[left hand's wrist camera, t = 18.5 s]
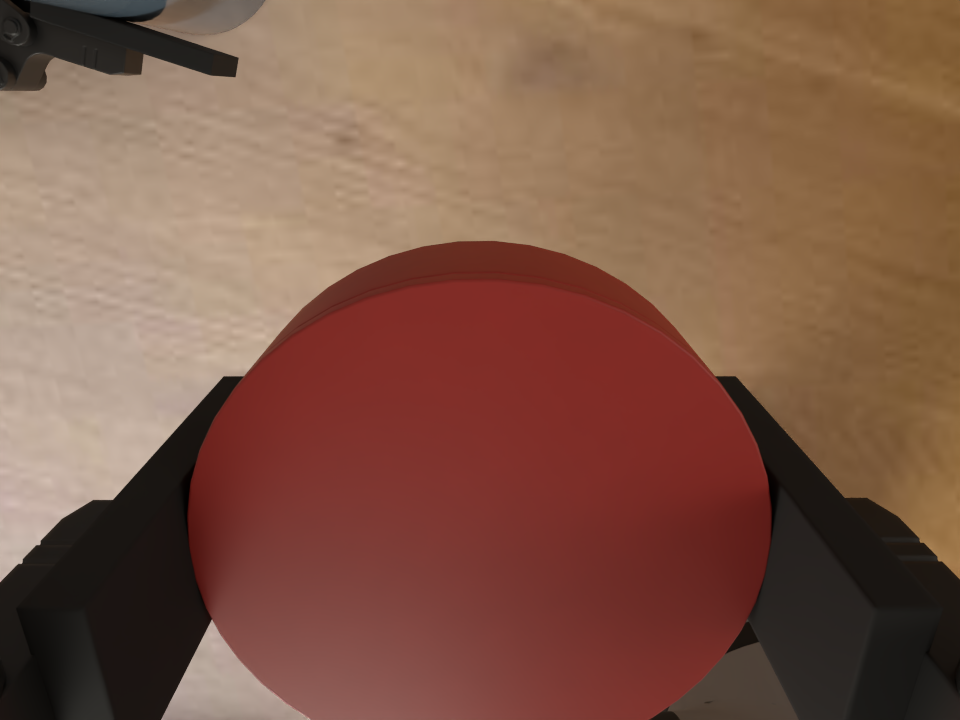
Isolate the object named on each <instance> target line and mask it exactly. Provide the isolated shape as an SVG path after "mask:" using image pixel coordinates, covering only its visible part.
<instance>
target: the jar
mask: <svg viewBox="0 0 960 720" xmlns="http://www.w3.org/2000/svg"><path fill="white" fill-rule="evenodd" d="M27 1H32V2H37V3H41V4H46V5H51V6H56V7H61V8H66V9H70V10H75V11H80V12H85V13H90V14H95V15H99V16H104V17H109V18H114V19H119V20H124V21H128V22H133V23H138V24H143V25H148V26H153V27H157V28H162V29H167V30H172V31H177V32H182V33H187V34H192V35H211V34H218V33H222V32H226V31H228V30H231V29H233V28H235V27H237V26H239V25H241V24H242V23H244V22H245V21H247V20H248V19H249V18H250V17H251V16H253V15H254V14H255V13H256V12H257V10H258V9H259V8H260V7H261V6H262V4H263V3H264V1H265V0H27Z"/></svg>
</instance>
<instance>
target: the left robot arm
mask: <svg viewBox="0 0 960 720" xmlns="http://www.w3.org/2000/svg"><path fill="white" fill-rule="evenodd" d="M243 377H244V376H224V377H223V378H222V379H221V380H220V381H219V382H218V384H217V385H216V386H215V387H214V388H213V389H212V390H211V391H210V392H209V394H208V395H207V396H206V397H205V398H204V399H203V400H202V401H201V402H200V404H199V405H198V406H197V407H196V408H195V409H194V410H193V411H192V413H191V414H190V415H189V416H188V417H187V418H186V419H185V420H184V421H183V423H182V424H181V425H180V426H179V427H178V428H177V429H176V430H175V431H174V433H173V434H172V435H171V436H170V437H169V438H168V439H167V440H166V442H165V443H164V444H163V445H162V446H161V447H160V448H159V449H158V450H157V452H156V453H155V454H154V455H153V456H152V457H151V458H150V459H149V460H148V462H147V463H146V464H145V465H144V466H143V467H142V468H141V469H140V471H139V472H138V473H137V474H136V475H135V476H134V477H133V478H132V479H131V481H130V482H129V483H128V484H127V485H126V486H125V487H124V488H123V489H122V491H121V492H120V493H119V494H118V495H117V496H116V497H115V498H114V499H113V500H93V501H91V502H89V503H88V504H86V505H84V506H83V507H81V508H79V509H78V510H76V511H74V512H73V513H71V514H70V515H68V516H66V517H65V518H63V519H62V520H61V521H60V522H59V523H58V524H57V525H56V526H55V527H54V528H53V529H52V530H51V531H50V532H49V533H48V534H47V535H46V536H45V537H44V538H43V539H42V540H41V544H40V545H36V546H35V547H34V548H33V549H32V550H31V551H30V552H29V553H28V554H27V555H26V557H25V558H24V559H23V563H22V564H18V565H17V566H16V567H15V568H14V569H13V570H12V571H11V572H10V573H9V574H8V575H7V576H6V577H5V578H4V579H3V580H2V581H1V582H0V720H161V719H162V717H163V715H164V713H165V711H166V709H167V707H168V705H169V703H170V701H171V699H172V697H173V695H174V693H175V691H176V689H177V687H178V685H179V683H180V681H181V679H182V677H183V675H184V673H185V671H186V669H187V667H188V665H189V663H190V661H191V659H192V657H193V655H194V653H195V651H196V650H197V648H198V646H199V644H200V642H201V640H202V638H203V636H204V634H205V632H206V630H207V628H208V626H209V624H210V622H211V620H212V618H211V616H210V614H209V612H208V611H207V609H206V607H205V604H204V601H203V598H202V596H201V593H200V590H199V588H198V585H197V582H196V579H195V573H194V568H193V563H192V558H191V553H190V548H189V542H188V524H187V510H188V501H189V492H190V483H191V479H192V475H193V472H194V468H195V465H196V461H197V458H198V454H199V450H200V448H201V446H202V444H203V442H204V439H205V437H206V435H207V433H208V431H209V429H210V426H211V424H212V422H213V420H214V418H215V416H216V415H217V413H218V412H219V410H220V409H221V407H222V406H223V404H224V403H225V401H226V400H227V398H228V397H229V395H230V394H231V393H232V391H233V390H234V388H235V387H236V386H237V384H238V383H239V382H240V381H241V380H242V378H243ZM715 377H716V378H717V379H718V380H719V382H720V383H721V384H722V386H723V387H724V389H725V390H726V391H727V393H728V394H729V396H730V397H731V398H732V400H733V401H734V403H735V404H736V405H737V407H738V408H739V410H740V411H741V412H742V414H743V416H744V418H745V420H746V422H747V424H748V426H749V428H750V430H751V432H752V434H753V436H754V438H755V440H756V442H757V445H758V448H759V451H760V454H761V458H762V461H763V464H764V467H765V470H766V474H767V477H768V485H769V492H770V499H771V506H772V529H771V545H770V551H769V556H768V561H767V566H766V571H765V576H764V580H763V582H762V585H761V588H760V591H759V594H758V597H757V600H756V603H755V605H754V607H753V609H752V611H751V613H750V615H749V617H748V618H747V620H746V622H745V624H744V626H743V628H742V630H741V632H740V633H739V635H738V636H737V637H736V639H735V640H734V642H733V643H732V645H731V646H730V647H729V649H728V650H727V652H726V653H725V655H724V656H723V657H722V658H721V659H720V660H719V662H718V663H717V664H716V665H715V666H714V667H713V668H712V669H711V670H710V671H709V673H708V674H707V675H706V676H705V677H704V678H703V679H702V680H701V681H700V682H699V683H697V684H696V685H695V686H694V687H693V688H692V689H690V690H689V691H688V692H687V693H686V694H685V695H684V696H682V697H681V698H680V699H679V700H678V701H676V702H675V703H673V704H672V705H670V706H669V707H667V708H666V709H664V710H663V711H661V712H660V713H658V714H657V715H656V716H654V717H653V718H651V719H649V720H960V579H959V578H958V577H957V576H956V575H955V574H954V573H953V572H952V571H951V570H950V569H949V568H948V567H947V566H946V565H945V564H944V563H943V562H938V560H937V556H936V555H935V554H934V553H933V552H932V551H931V550H930V549H929V548H928V547H927V546H926V545H925V544H924V543H920V541H919V538H918V537H917V536H916V535H915V534H914V532H913V531H912V530H911V529H910V528H909V527H908V526H907V525H906V524H905V523H904V522H903V521H902V520H901V519H900V518H899V517H898V516H896V515H894V514H893V513H891V512H889V511H888V510H886V509H884V508H883V507H881V506H879V505H878V504H876V503H874V502H873V501H871V500H869V499H868V498H844V497H843V496H842V494H841V493H840V492H839V491H838V490H837V489H836V488H835V487H834V486H833V484H832V483H831V482H830V481H829V480H828V479H827V478H826V477H825V475H824V474H823V473H822V472H821V471H820V470H819V469H818V468H817V467H816V465H815V464H814V463H813V462H812V461H811V460H810V459H809V458H808V457H807V455H806V454H805V453H804V452H803V451H802V450H801V449H800V448H799V446H798V445H797V444H796V443H795V442H794V441H793V440H792V439H791V438H790V436H789V435H788V434H787V433H786V432H785V431H784V430H783V429H782V428H781V426H780V425H779V424H778V423H777V422H776V421H775V420H774V419H773V417H772V416H771V415H770V414H769V413H768V412H767V411H766V410H765V409H764V407H763V406H762V405H761V404H760V403H759V402H758V401H757V400H756V399H755V397H754V396H753V395H752V394H751V393H750V392H749V391H748V390H747V388H746V387H745V386H744V385H743V384H742V383H741V382H740V381H739V380H738V378H737V377H736V376H715Z"/></svg>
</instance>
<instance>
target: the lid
mask: <svg viewBox="0 0 960 720" xmlns="http://www.w3.org/2000/svg"><path fill="white" fill-rule="evenodd" d="M187 524H188V542H189V548H190V553H191V558H192V563H193V568H194V573H195V579H196V582H197V585H198V588H199V590H200V593H201V596H202V598H203V601H204V604H205V607H206V609H207V611H208V612H209V614H210V616H211V618H212V620H213V622H214V623H215V625H216V627H217V629H218V631H219V633H220V634H221V636H222V637H223V639H224V640H225V641H226V643H227V644H228V646H229V647H230V648H231V650H232V651H233V652H234V654H235V655H236V656H237V658H238V659H239V660H240V662H241V663H242V664H243V665H244V666H245V667H246V668H247V669H248V670H249V671H250V672H251V673H252V674H253V675H254V676H255V677H256V678H257V679H258V680H259V681H260V683H262V684H263V685H264V686H265V687H266V688H268V689H269V690H270V691H271V692H272V693H274V694H275V695H276V696H277V697H278V698H280V699H281V700H282V701H283V702H284V703H286V704H287V705H289V706H290V707H292V708H293V709H295V710H296V711H298V712H300V713H301V714H303V715H304V716H306V717H307V718H309V719H310V720H649V719H651V718H653V717H654V716H656V715H657V714H658V713H660V712H661V711H663V710H664V709H666V708H667V707H669V706H670V705H672V704H673V703H675V702H676V701H678V700H679V699H680V698H681V697H682V696H684V695H685V694H686V693H687V692H688V691H689V690H690V689H692V688H693V687H694V686H695V685H696V684H697V683H699V682H700V681H701V680H702V679H703V678H704V677H705V676H706V675H707V674H708V673H709V671H710V670H711V669H712V668H713V667H714V666H715V665H716V664H717V663H718V662H719V660H720V659H721V658H722V657H723V656H724V655H725V653H726V652H727V650H728V649H729V647H730V646H731V645H732V643H733V642H734V640H735V639H736V637H737V636H738V635H739V633H740V632H741V630H742V628H743V626H744V624H745V622H746V620H747V618H748V617H749V615H750V613H751V611H752V609H753V607H754V605H755V603H756V600H757V597H758V594H759V591H760V588H761V585H762V582H763V580H764V576H765V571H766V566H767V561H768V556H769V551H770V545H771V529H772V506H771V499H770V492H769V485H768V477H767V474H766V470H765V467H764V464H763V461H762V458H761V454H760V451H759V448H758V445H757V442H756V440H755V438H754V436H753V434H752V432H751V430H750V428H749V426H748V424H747V422H746V420H745V418H744V416H743V414H742V412H741V411H740V410H739V408H738V407H737V405H736V404H735V403H734V401H733V400H732V398H731V397H730V396H729V394H728V393H727V391H726V390H725V389H724V387H723V386H722V384H721V383H720V382H719V380H718V379H717V378H716V377H715V376H714V375H713V373H712V372H711V371H710V370H709V368H708V367H707V366H706V365H705V364H704V362H703V361H702V360H701V359H700V357H699V356H698V355H697V354H696V353H695V351H694V350H693V349H692V348H691V347H690V345H689V344H688V343H687V342H686V340H685V339H684V338H683V337H682V336H681V334H680V333H679V332H678V331H677V330H676V328H675V327H674V326H673V325H672V324H671V323H670V322H669V321H668V320H667V319H666V318H665V317H664V316H663V315H662V314H661V313H660V312H659V311H658V310H657V309H656V308H655V306H654V305H653V304H651V303H650V302H649V301H648V300H646V299H645V298H644V297H642V296H641V295H640V294H638V293H637V292H636V291H635V290H633V289H632V288H631V287H629V286H628V285H627V284H625V283H624V282H622V281H620V280H618V279H617V278H615V277H613V276H611V275H610V274H608V273H606V272H604V271H603V270H601V269H599V268H597V267H595V266H593V265H590V264H588V263H585V262H583V261H580V260H578V259H575V258H573V257H570V256H568V255H565V254H562V253H558V252H554V251H550V250H546V249H542V248H538V247H535V246H531V245H523V244H514V243H506V242H498V241H460V242H452V243H445V244H438V245H431V246H424V247H420V248H416V249H413V250H409V251H406V252H402V253H398V254H395V255H391V256H388V257H386V258H384V259H381V260H379V261H377V262H374V263H372V264H370V265H367V266H365V267H363V268H360V269H358V270H356V271H354V272H353V273H351V274H349V275H348V276H346V277H345V278H343V279H341V280H340V281H338V282H336V283H335V284H333V285H331V286H330V287H328V288H327V289H326V290H324V291H323V292H322V293H321V294H319V295H318V296H317V297H316V298H315V299H313V300H312V301H311V302H310V303H308V304H307V305H306V306H305V307H303V308H302V309H301V311H300V312H299V313H298V314H297V315H296V316H295V317H294V318H293V319H292V320H291V321H290V323H289V324H288V325H287V326H286V327H285V328H284V329H283V330H282V331H281V332H280V334H279V335H278V336H277V337H276V338H275V340H274V341H273V342H272V343H271V345H270V346H269V347H268V348H267V349H266V351H265V352H264V353H263V354H262V355H261V357H260V358H259V359H258V360H257V361H256V363H255V364H254V365H253V366H252V367H251V369H250V370H249V371H248V372H247V373H246V375H245V376H244V377H243V378H242V380H241V381H240V382H239V383H238V384H237V386H236V387H235V388H234V390H233V391H232V393H231V394H230V395H229V397H228V398H227V400H226V401H225V403H224V404H223V406H222V407H221V409H220V410H219V412H218V413H217V415H216V416H215V418H214V420H213V422H212V424H211V426H210V429H209V431H208V433H207V435H206V437H205V439H204V442H203V444H202V446H201V448H200V450H199V454H198V458H197V461H196V465H195V468H194V472H193V475H192V479H191V483H190V492H189V501H188V510H187Z"/></svg>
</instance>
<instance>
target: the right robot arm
mask: <svg viewBox="0 0 960 720" xmlns="http://www.w3.org/2000/svg"><path fill="white" fill-rule="evenodd" d="M143 54H146V55H149V56H152V57H155V58H158V59H161V60H164V61H168V62H171V63H174V64H177V65H180V66H183V67H186V68H189V69H192V70H195V71H199V72H202V73H205V74H208V75H212V76H226V77H236V71H237V64H238V58H237V57H234V56H231V55H228V54H225V53H222V52H219V51H216V50H213V49H210V48H207V47H204V46H201V45H198V44H195V43H192V42H188V41H185V40H182V39H179V38H176V37H173V36H170V35H167V34H164V33H161V32H158V31H155V30H152V29H149V28H146V27H143V26H140V25H136V24H133V23H130V22H127V21H124V20H119V19H114V18H109V17H104V16H99V15H95V14H90V13H85V12H80V11H75V10H70V9H66V8H61V7H56V6H51V5H46V4H41V3H37V2H32V1H27V0H0V91H37V90H40V89H42V88H43V87H44V86H45V84H46V79H47V76H46V73H45V69H46V67H47V65H48V63H49V62H50V60H51V59H53V58H54V57H56V58H59V59H62V60H65V61H69V62H72V63H75V64H78V65H81V66H84V67H87V68H91V69H94V70H97V71H100V72H103V73H106V74H109V75H127V76H128V75H140V74H141V71H142V62H143Z"/></svg>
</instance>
